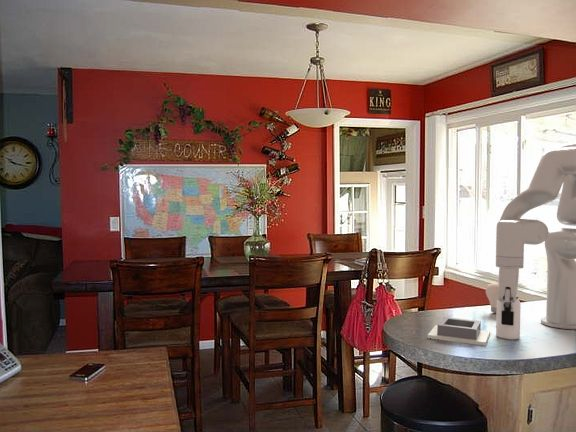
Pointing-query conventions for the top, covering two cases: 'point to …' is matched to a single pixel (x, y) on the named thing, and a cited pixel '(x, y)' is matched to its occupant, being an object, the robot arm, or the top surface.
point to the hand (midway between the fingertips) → (508, 321)
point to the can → (508, 330)
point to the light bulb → (492, 296)
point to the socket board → (460, 331)
